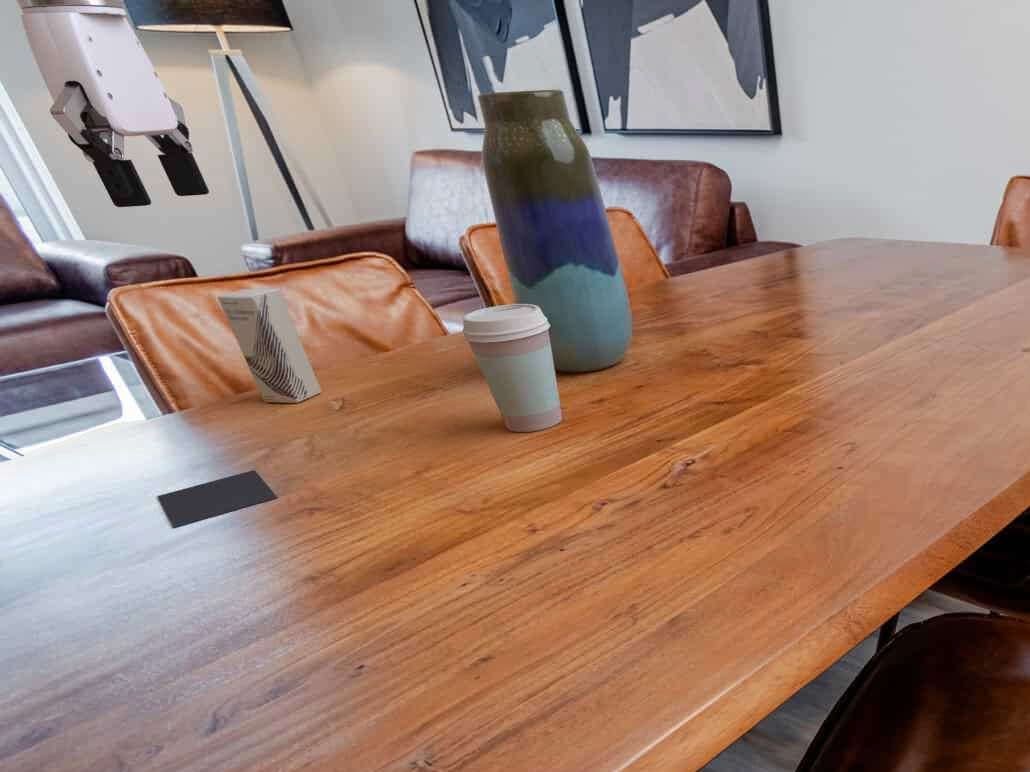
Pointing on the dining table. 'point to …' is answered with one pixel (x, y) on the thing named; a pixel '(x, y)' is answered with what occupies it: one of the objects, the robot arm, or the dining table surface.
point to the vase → (555, 227)
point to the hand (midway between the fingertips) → (165, 200)
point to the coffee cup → (516, 363)
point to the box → (270, 344)
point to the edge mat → (215, 498)
